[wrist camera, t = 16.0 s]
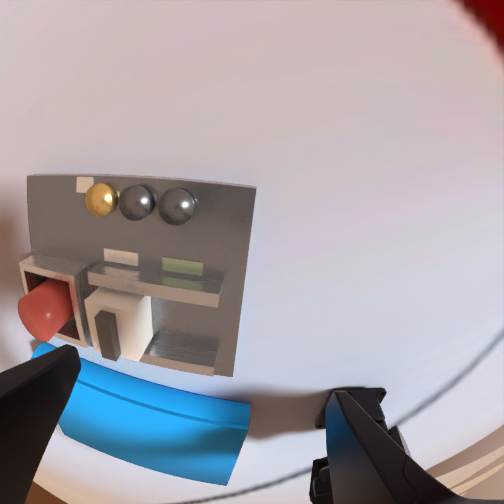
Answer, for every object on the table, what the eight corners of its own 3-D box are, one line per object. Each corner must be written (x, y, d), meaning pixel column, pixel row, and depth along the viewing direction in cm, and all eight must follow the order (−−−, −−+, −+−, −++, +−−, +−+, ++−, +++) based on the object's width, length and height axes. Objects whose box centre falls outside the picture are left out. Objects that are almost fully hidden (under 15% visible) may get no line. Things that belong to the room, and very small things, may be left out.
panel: (233, 368, 24) (229, 397, 21) (54, 325, 24) (35, 343, 20) (256, 186, 19) (255, 193, 15) (35, 174, 19) (8, 179, 15)
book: (228, 486, 28) (64, 437, 27) (230, 462, 32) (74, 418, 31) (250, 425, 22) (26, 357, 21) (251, 393, 26) (45, 336, 25)
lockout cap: (85, 316, 22) (56, 347, 17) (54, 307, 22) (25, 333, 17) (79, 277, 20) (45, 304, 16) (47, 269, 20) (13, 292, 16)
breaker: (153, 336, 22) (134, 370, 17) (112, 326, 22) (88, 356, 17) (150, 288, 20) (126, 319, 16) (106, 280, 20) (77, 307, 16)
